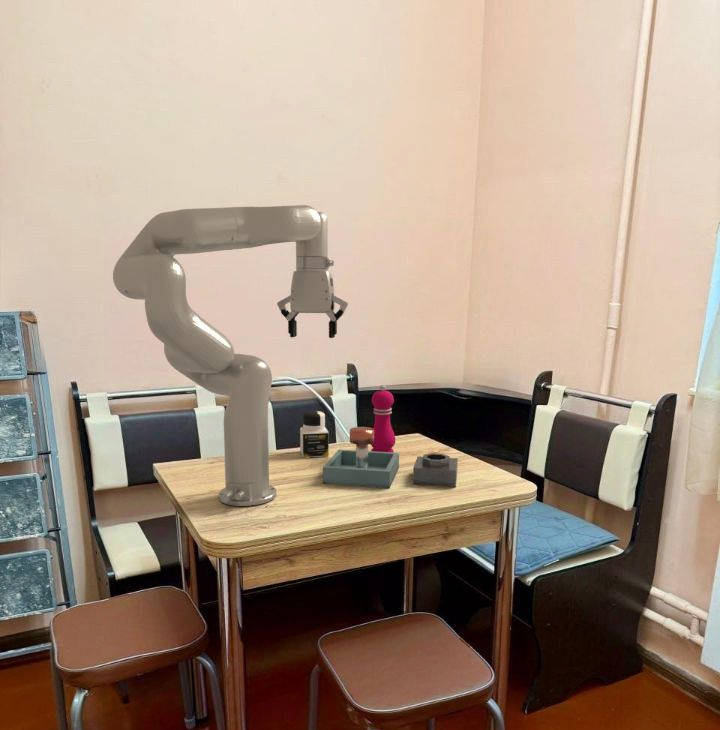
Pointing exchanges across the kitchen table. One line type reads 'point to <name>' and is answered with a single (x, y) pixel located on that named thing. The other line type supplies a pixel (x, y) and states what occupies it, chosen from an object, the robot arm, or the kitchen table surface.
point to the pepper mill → (383, 421)
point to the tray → (361, 469)
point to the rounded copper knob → (362, 444)
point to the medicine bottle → (314, 435)
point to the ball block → (435, 470)
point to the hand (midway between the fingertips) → (312, 337)
